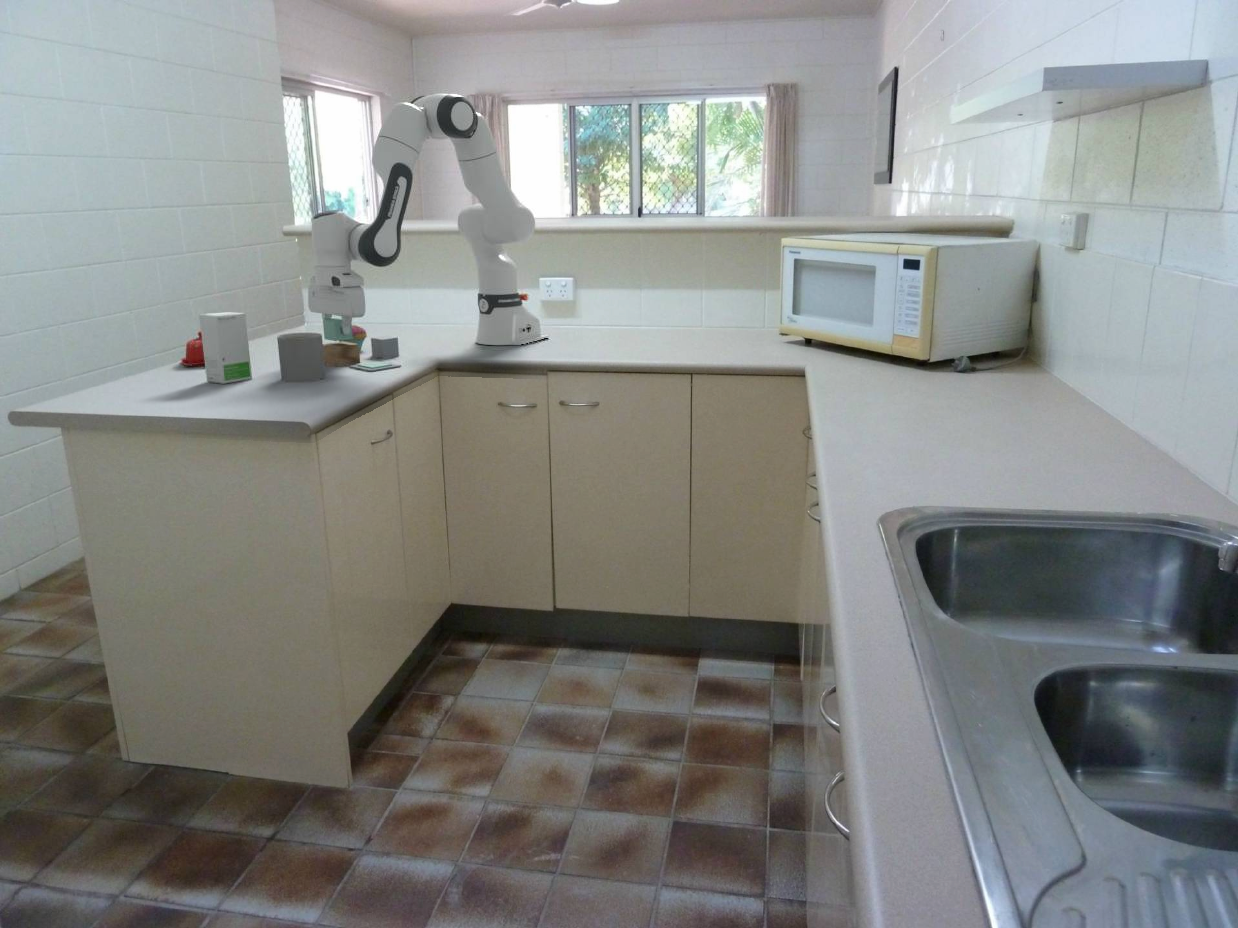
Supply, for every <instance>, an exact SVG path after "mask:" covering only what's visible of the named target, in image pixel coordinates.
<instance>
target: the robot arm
mask: <svg viewBox="0 0 1238 928" xmlns="http://www.w3.org/2000/svg"><path fill="white" fill-rule="evenodd" d="M381 125H382V126H381V127H380V129H379V132H378V135H377V136H376V140H375V143H374V146H373V150H372V156H371V164H372V167H373V169H374V171H375V173H376V174H377V175H378V176H379V178H380V179H381V181H382V183H383V188H382V189H383V190H382V195H381V198H380V201H379V205H378V209H377V212H376V216H375V218H374V220H373V221H372V222H371V223H369V224H368V223H364V222H362V221H359V220H358V219H355V218H354V217H351V216H349V215H348V214H346V212H344V211H343V210H340V209H333V210H326V211H321V212H318V213H316V214H315V215H314V216H313V218H312V220H311V221H312V222H311V247H312V251H313V253H314V260H313V269H314V275H313V276H312V277H311V279H310V280H309V285H308V288H307V307H308V309H309V311H310V312H311V313H316V314H321V318H322V320H323V319H332V317H333V316H338V317H340V318H342V321H343V324H342V327H340V330H341V333H342V334H349V333H350V325H351V322H352V321H353V319H355V318H356V319H357V318H362V317H364V316H365V313H366V295H365V291H364V288H363V287H364V285H365V279H364V276H362V275H360V274H359V273H357V272H355V270H353V269H352V266H351V265H352V263H351V262H352V261H356V262H357V263H359V262H360V263H363V264H368V265H369V264H370V265H372V266H375V267H379V268H383V267H384V268H385V267H388V266H390V265H391V264H393V263H394V262H396V260H398V259H397V258H398V257H399V255H400V253H401V250H402V249H401V248H402V239H401V238H402V237H401V236H402V234H401V233H402V225H403V221H404V219H405V214H406V211H407V206H408V203H409V199H410V195H411V192H412V191H411V190H412V186H413V179H414V173H415V170H416V167H417V164H418V161H419V157H420V155H421V151H422V149H423V146H424V143H425V142H426V140H427V139H431V140H447V139H449V140H450V141H451V143H452V145H453V146H454V151H455V155H456V159H457V163H458V166H459V170H460V173H461V178H462V180H463V183H464V187H465V188H466V190H467V191H468V192H469V193H471V194H472V195H473V196H474V197H475V198H476V199H477V201H479V203H475V204H471V205H467V206H465V207H463V208H462V210H460V212H459V214H458V217H457V229H458V231H459V233H460V235H461V236H462V237H463V238H464V239H465V241H466V242H467V243H468V245H469V246H470V248H471V251H472V253H473V257H474V259H475V262H476V267H477V277H478V280H477V281H478V293H477V306H478V310H479V311H478V322H477V333H476V338H475V343H476V344H478V345H479V344H480V345H485V346H486V345H489V346H490V345H491V346H522V345H521V344H524V345H527V344H526V343H528V344H530V343H529V342H532V343H534V342H533V341H535V340H540V339H542V338H546V337H549V335H548V334H546V333H542V331H541V323H540V319H539V318H538V317H537V316H536V315H535V314H534V313H532V312H531V311H530V310H528V309H527V307H525V306H524V305H523V304H524V303H523V301H525V302H527V301H528V300H529V299H530V298H529V297H530V295H529V294H528V293H521V294H520V293H519V292H518V267H517V264H516V263H515V262H514V260H513V259H511V258H510V257H509V255H508V253H507V252H506V249H505V246H504V245H516V244H522V243H524V242H527V241H530V239H531V238H532V236H533V235H534V233H535V230H536V219H535V217H534V214H533V212H532V211H531V210H530V208H528V207H526V206H525V205H524V204H523V203H522V202H521V201H520V200H519V199H518V197H517V196H516V195H515V193H514V192H513V190H512V189H511V186H510V185H509V183H508V181H507V179H506V177H505V174H504V173H505V172H504V171H503V170H504V169H503V168H502V167H503V166H502V164H501V160H500V156H499V153H498V150H497V146H496V142H495V139H494V136H493V133H492V131H491V129H490V125H489V124H488V122H487V120H486V118H485V117H484V115H483V114H481V113H479V112H477V111H476V110H475V108H474V106H473V105H472V103H471V101H470V100H468V99H467V98H466V97H464V96H463V95H460V94H456V93H450V94H449V93H434V94H430V95H422V96H421V95H420V96H418V97H416V98H414V99H413V100H411V101H410V102H397V103H395V104H394V105H393V106H392V108H391V109H390V110H389V112H388V114H387V115H386V118H385V119H384V121H383V122H382V124H381ZM549 338H550V337H549Z"/></svg>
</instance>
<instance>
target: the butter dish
mask: <svg viewBox="0 0 1238 928" xmlns="http://www.w3.org/2000/svg"><path fill="white" fill-rule="evenodd" d="M197 335H198V336H199V337H197V338H193V339H191V340H188V341H187V343H186V348H185V357H182V358H180V360H181V363H182V364H183V365H184V366H188V367H193V368H194V367H195V368H197V367H205V360H204V352H203V343H202V334H201V330H200V331H199V332H197Z"/></svg>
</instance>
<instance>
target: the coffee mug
mask: <svg viewBox="0 0 1238 928" xmlns="http://www.w3.org/2000/svg"><path fill="white" fill-rule="evenodd" d="M323 342H324V341H323V335H322V333H318V332H292V333H291V332H290V333H283V334H279V335H277V346H278V347H277V349H278V350H277V351H278V358H279V368H280V376H281V380H282V381H284V382H294V383H303V382H313V381H312V380H314V381H318V379H320V380H322V379H321V378H323V379H325V378H326V377H325V376H326V366H325V365H326V364H324V353H323V344H324V343H323Z"/></svg>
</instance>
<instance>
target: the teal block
mask: <svg viewBox="0 0 1238 928" xmlns="http://www.w3.org/2000/svg"><path fill="white" fill-rule="evenodd" d="M342 324H343V321H342V318H341V317H334V318H332V317H331V319H322V325H323V326H322V327H323V336H324V340H327V341H334V342H339V341H340V340H348V339H353V335H352V325H353V324H352V322H351V325H350V333H349V334H342V333H341V330H340V327H342Z"/></svg>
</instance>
